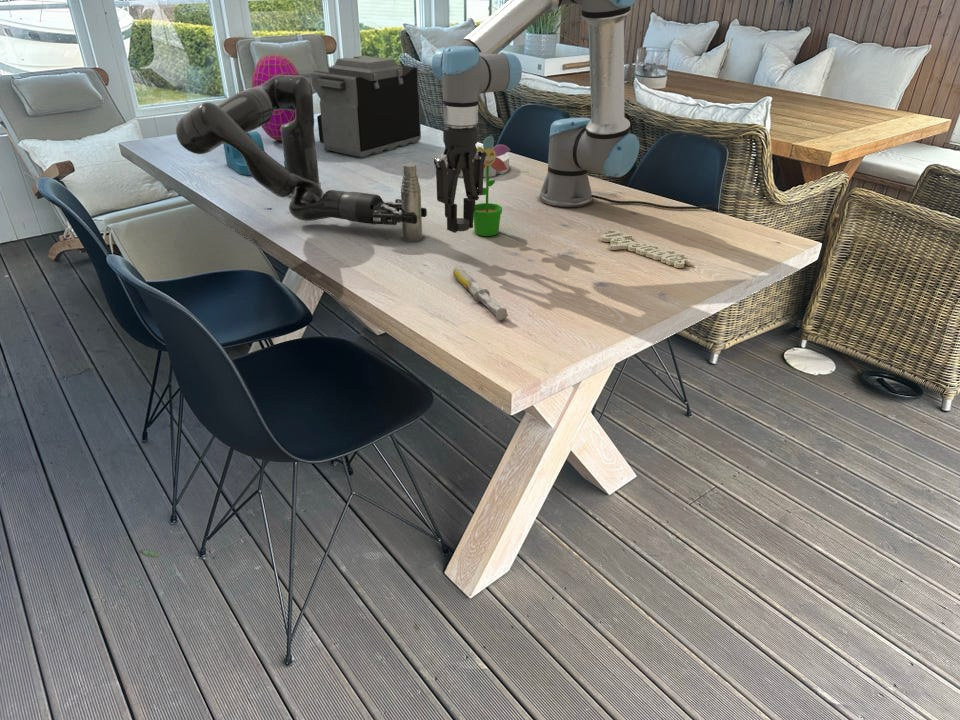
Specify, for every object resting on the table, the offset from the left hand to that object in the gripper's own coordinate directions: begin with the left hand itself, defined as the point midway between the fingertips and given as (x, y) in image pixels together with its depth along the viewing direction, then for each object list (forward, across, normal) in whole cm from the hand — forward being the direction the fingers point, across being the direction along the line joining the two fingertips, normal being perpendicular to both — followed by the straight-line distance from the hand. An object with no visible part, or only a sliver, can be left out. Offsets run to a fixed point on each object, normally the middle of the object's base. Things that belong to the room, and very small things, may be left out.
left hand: (421, 215), depth 171 cm
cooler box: (-59, +82, +6) cm, 102 cm away
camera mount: (-80, +39, +6) cm, 90 cm away
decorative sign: (+53, +13, +6) cm, 55 cm away
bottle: (-3, 0, +6) cm, 7 cm away
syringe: (+25, -27, +6) cm, 37 cm away
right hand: (+14, -8, -1) cm, 16 cm away
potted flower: (+14, +11, +6) cm, 19 cm away
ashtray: (-12, +68, +6) cm, 69 cm away
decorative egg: (-94, +78, +6) cm, 122 cm away
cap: (+13, -8, -3) cm, 16 cm away
